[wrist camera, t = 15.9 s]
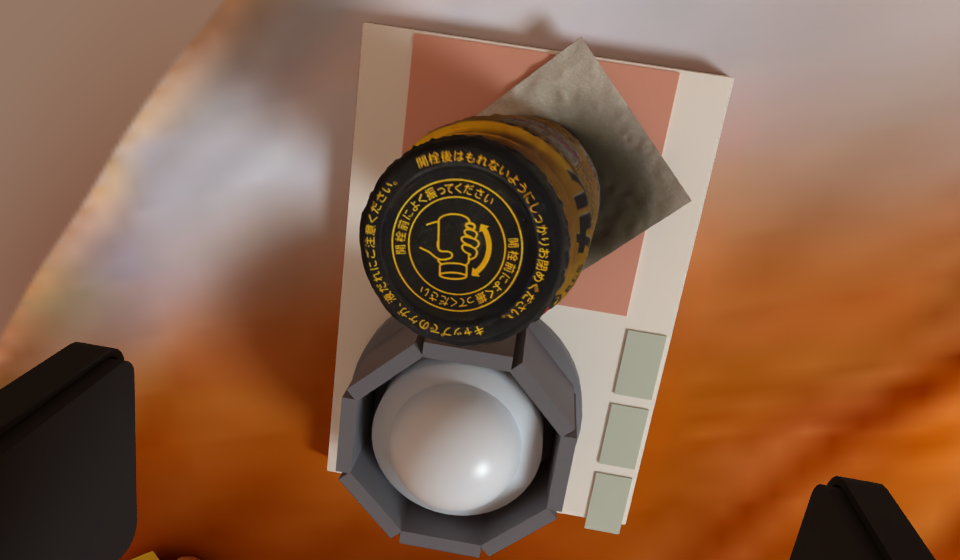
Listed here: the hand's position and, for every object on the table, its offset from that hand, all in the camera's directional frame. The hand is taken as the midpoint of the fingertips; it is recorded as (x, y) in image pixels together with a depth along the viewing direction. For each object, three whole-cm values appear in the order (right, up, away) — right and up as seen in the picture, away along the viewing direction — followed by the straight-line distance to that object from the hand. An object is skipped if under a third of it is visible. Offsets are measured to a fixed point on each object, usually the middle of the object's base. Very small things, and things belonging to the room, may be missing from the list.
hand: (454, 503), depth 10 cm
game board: (+2, +3, +22) cm, 23 cm away
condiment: (+3, +7, +19) cm, 21 cm away
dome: (0, -3, +22) cm, 22 cm away
